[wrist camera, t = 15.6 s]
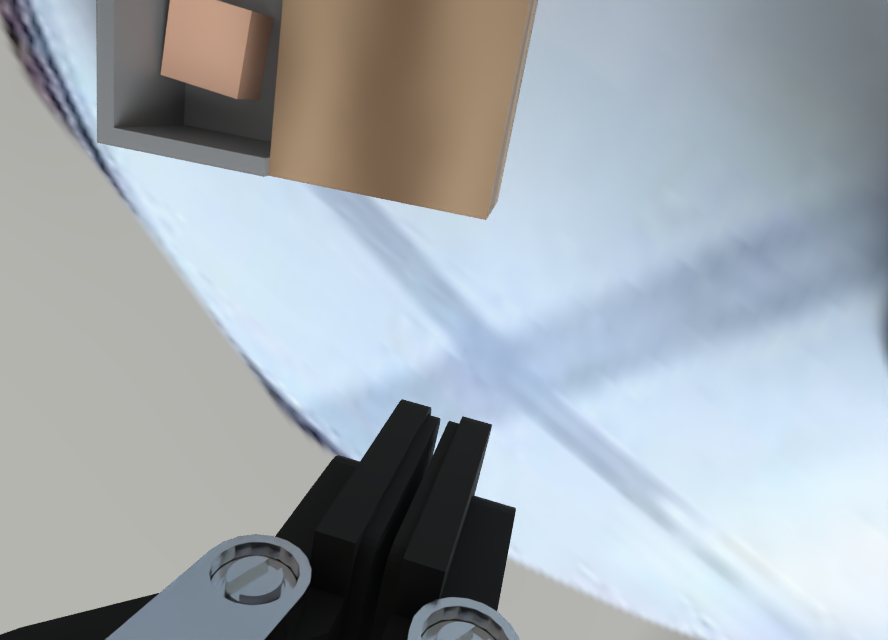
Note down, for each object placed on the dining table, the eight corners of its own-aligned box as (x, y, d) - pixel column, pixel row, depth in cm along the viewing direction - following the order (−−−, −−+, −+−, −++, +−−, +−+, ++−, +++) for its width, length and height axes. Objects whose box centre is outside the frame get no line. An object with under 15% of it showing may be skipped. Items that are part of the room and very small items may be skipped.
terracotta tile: (171, -14, 30) (199, -6, 32) (160, 74, 31) (187, 77, 34) (251, 11, 30) (273, 18, 32) (237, 98, 31) (259, 99, 34)
